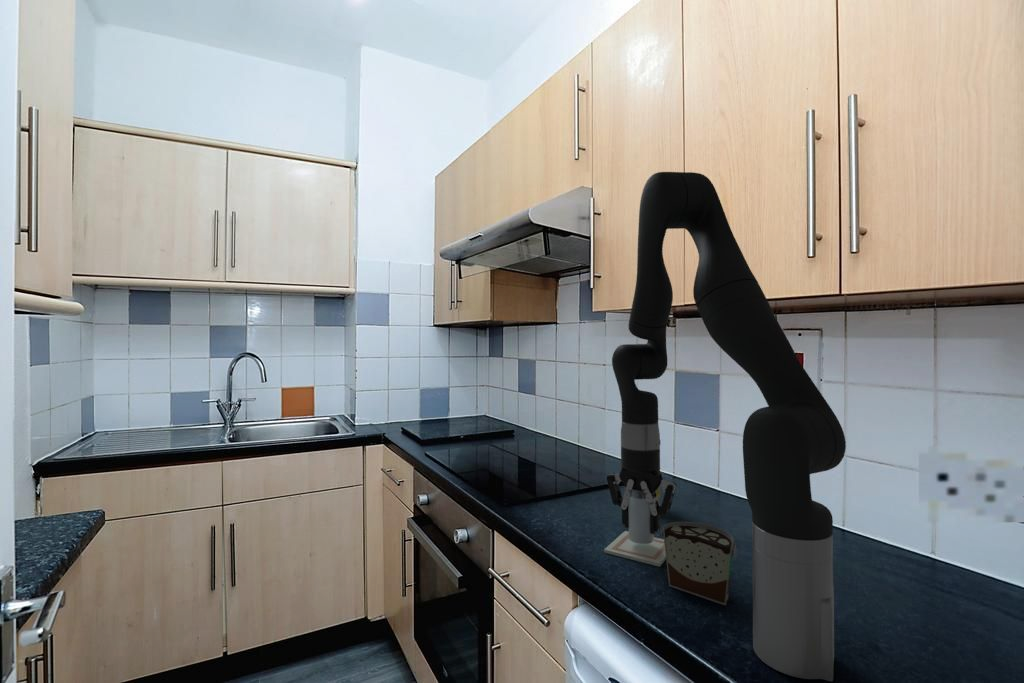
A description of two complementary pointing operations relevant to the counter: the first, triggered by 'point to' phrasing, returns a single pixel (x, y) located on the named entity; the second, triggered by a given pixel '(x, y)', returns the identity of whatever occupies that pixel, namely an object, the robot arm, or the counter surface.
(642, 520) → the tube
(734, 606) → the counter surface
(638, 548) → the card
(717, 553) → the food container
